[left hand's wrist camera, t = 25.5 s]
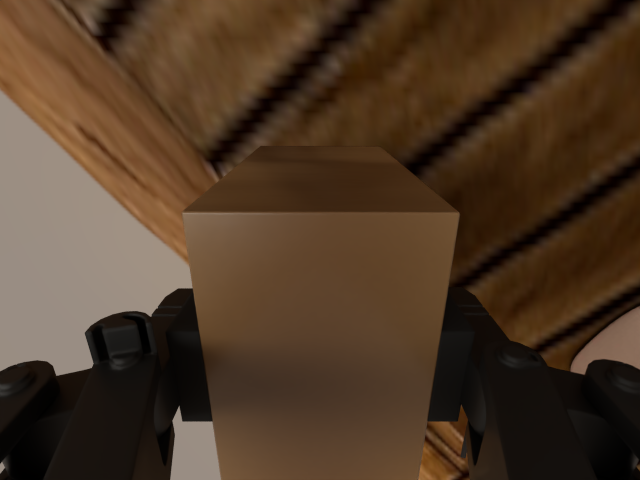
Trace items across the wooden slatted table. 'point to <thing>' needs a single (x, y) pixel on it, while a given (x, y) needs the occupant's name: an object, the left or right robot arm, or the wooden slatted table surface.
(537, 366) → the left robot arm
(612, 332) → the anatomical model
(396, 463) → the brick
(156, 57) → the wooden slatted table surface
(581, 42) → the wooden slatted table surface
